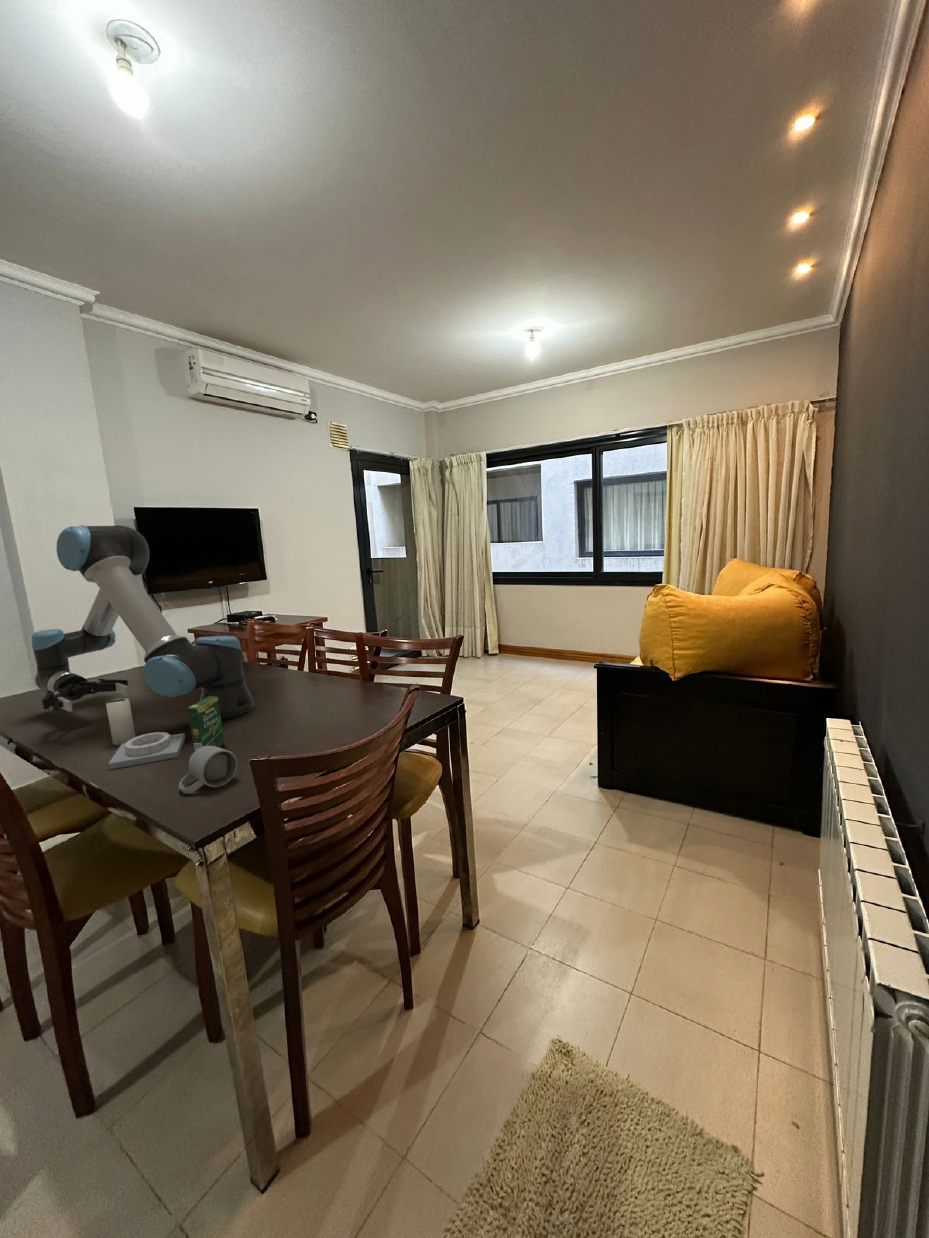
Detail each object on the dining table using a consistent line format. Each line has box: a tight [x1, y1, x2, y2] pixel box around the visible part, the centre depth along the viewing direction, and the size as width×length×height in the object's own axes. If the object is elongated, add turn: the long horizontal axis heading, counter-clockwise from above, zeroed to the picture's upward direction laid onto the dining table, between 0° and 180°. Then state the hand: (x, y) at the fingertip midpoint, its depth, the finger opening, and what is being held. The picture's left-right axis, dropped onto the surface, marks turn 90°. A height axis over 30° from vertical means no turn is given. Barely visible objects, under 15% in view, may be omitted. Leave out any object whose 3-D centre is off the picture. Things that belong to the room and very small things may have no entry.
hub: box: [108, 731, 186, 770], centre depth 122 cm, size 14×12×4 cm
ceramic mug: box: [178, 746, 238, 795], centre depth 106 cm, size 11×8×8 cm
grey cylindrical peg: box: [105, 697, 136, 746], centre depth 129 cm, size 5×5×11 cm
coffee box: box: [187, 696, 225, 753], centre depth 120 cm, size 8×3×13 cm, turn 171°
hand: (100, 698), depth 134 cm, fingers open, 13 cm apart
